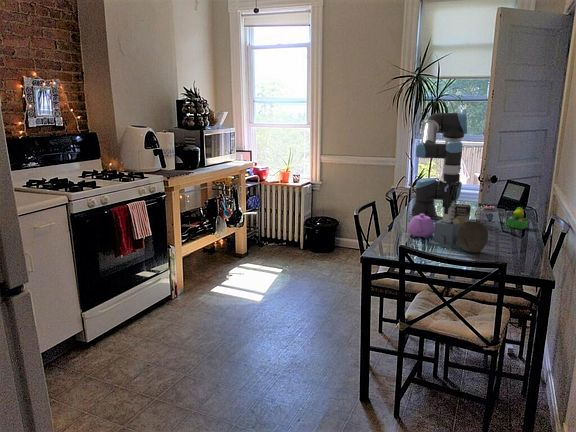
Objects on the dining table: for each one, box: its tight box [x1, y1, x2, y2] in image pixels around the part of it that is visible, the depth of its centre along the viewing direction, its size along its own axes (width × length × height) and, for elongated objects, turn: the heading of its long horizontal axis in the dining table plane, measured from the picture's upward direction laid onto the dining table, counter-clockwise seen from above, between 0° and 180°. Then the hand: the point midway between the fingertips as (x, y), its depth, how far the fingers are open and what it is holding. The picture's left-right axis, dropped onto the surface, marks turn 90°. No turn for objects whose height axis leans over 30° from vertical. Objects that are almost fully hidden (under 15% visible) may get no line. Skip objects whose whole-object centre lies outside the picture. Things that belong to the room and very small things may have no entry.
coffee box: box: [453, 203, 472, 226], centre depth 249 cm, size 9×6×16 cm
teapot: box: [407, 214, 435, 239], centre depth 245 cm, size 20×14×12 cm
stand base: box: [427, 218, 460, 250], centre depth 234 cm, size 12×16×13 cm
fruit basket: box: [504, 206, 530, 230], centre depth 262 cm, size 11×9×11 cm
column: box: [442, 199, 456, 224], centre depth 232 cm, size 5×4×21 cm
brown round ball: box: [458, 220, 489, 254], centre depth 220 cm, size 14×14×15 cm
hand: (448, 218), depth 232 cm, fingers closed on column, 4 cm apart
